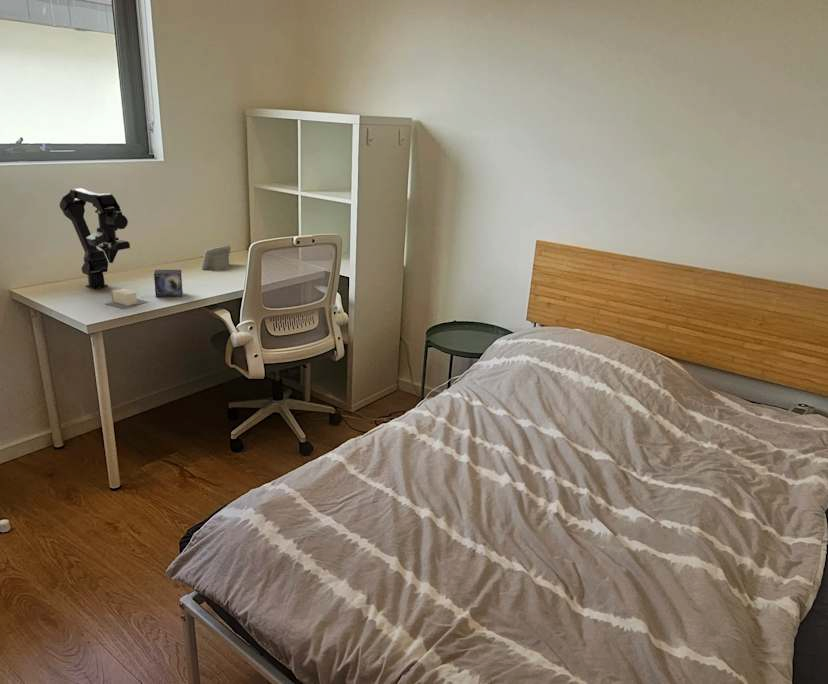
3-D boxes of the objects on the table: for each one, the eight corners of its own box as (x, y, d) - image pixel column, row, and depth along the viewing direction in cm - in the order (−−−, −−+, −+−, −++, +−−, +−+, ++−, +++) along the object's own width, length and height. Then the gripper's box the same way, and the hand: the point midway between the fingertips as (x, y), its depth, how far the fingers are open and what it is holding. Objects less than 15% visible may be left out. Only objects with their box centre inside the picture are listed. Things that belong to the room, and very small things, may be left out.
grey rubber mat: (105, 304, 243) (105, 303, 243) (131, 297, 253) (131, 297, 253) (122, 309, 238) (122, 308, 238) (148, 302, 248) (148, 301, 248)
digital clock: (226, 263, 314) (225, 243, 310) (236, 267, 309) (235, 246, 305) (197, 268, 302) (196, 247, 298) (208, 272, 297) (206, 250, 293)
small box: (155, 297, 255) (153, 273, 251) (156, 293, 260) (154, 269, 257) (182, 297, 258) (180, 273, 254) (183, 292, 263) (181, 269, 260)
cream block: (111, 290, 244) (126, 294, 241) (121, 288, 248) (136, 292, 244) (112, 301, 246) (127, 305, 242) (122, 298, 250) (137, 303, 246)
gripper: (73, 224, 244) (78, 262, 250) (104, 231, 236) (108, 270, 242) (99, 221, 253) (103, 257, 259) (129, 227, 245) (132, 265, 251)
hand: (111, 262), depth 252 cm, fingers closed
